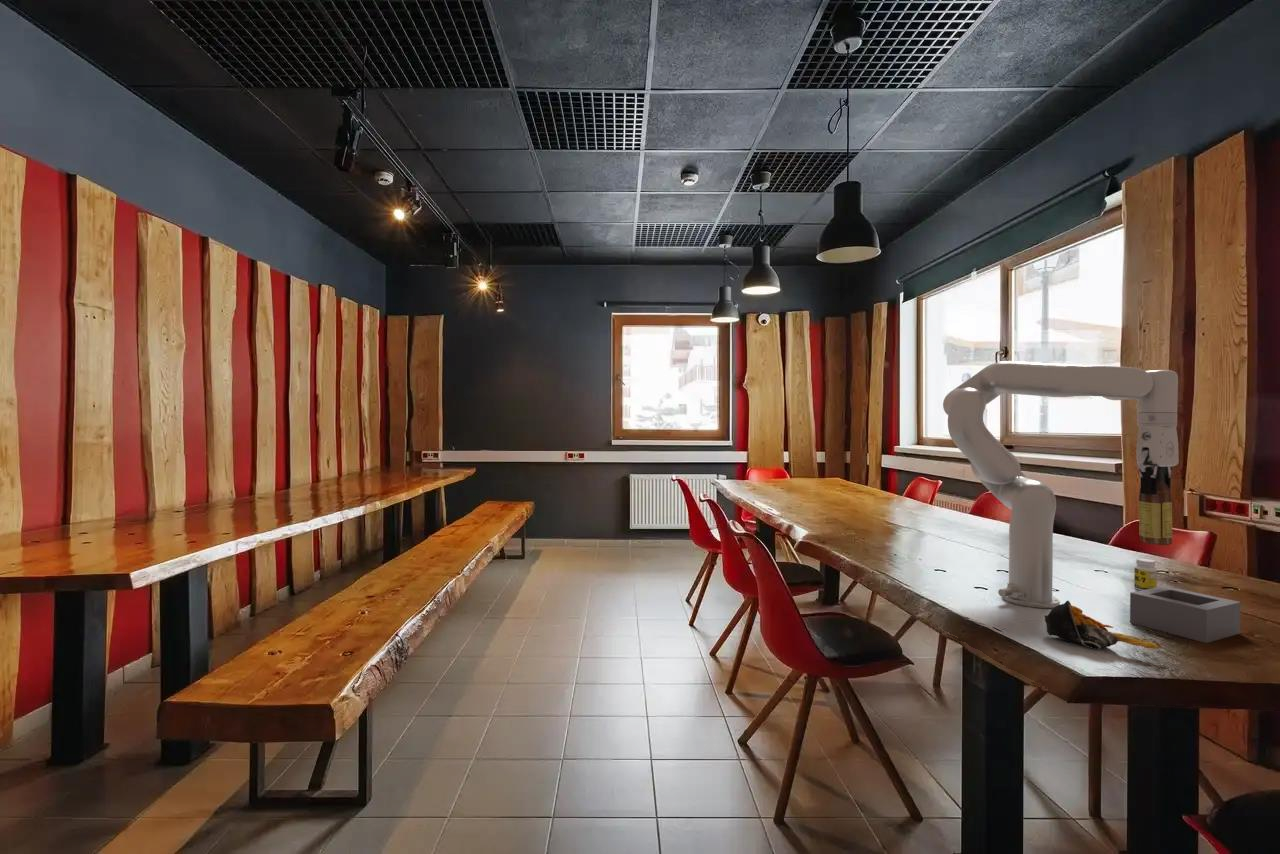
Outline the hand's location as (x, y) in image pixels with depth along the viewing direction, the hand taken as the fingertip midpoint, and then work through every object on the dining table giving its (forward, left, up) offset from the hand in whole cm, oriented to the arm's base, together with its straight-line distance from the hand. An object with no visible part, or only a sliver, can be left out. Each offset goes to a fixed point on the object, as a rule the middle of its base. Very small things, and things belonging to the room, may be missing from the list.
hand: (1155, 492), depth 148 cm
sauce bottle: (0, 0, -13) cm, 13 cm away
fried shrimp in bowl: (-40, -9, -30) cm, 50 cm away
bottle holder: (-9, -10, -29) cm, 32 cm away
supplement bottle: (+19, +11, -29) cm, 37 cm away
